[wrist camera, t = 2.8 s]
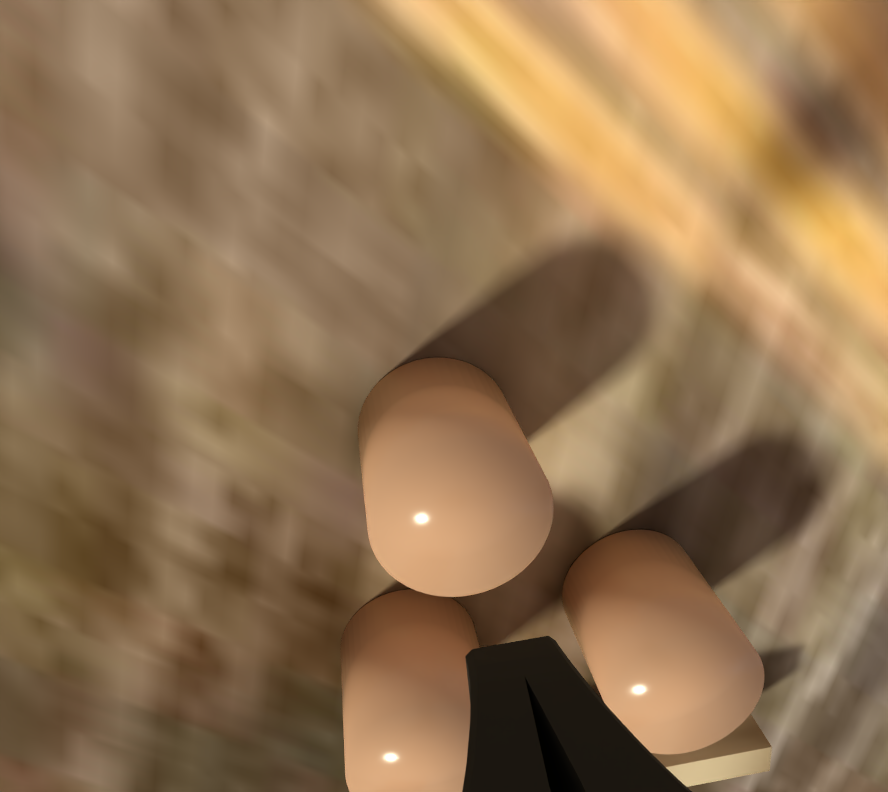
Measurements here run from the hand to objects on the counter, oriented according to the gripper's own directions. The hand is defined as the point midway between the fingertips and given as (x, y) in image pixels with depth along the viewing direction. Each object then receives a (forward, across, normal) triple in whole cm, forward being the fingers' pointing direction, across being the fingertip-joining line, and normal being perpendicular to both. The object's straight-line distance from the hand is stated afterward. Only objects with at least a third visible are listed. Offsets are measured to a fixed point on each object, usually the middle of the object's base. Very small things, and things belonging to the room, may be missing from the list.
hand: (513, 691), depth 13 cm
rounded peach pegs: (+9, -3, +4) cm, 11 cm away
